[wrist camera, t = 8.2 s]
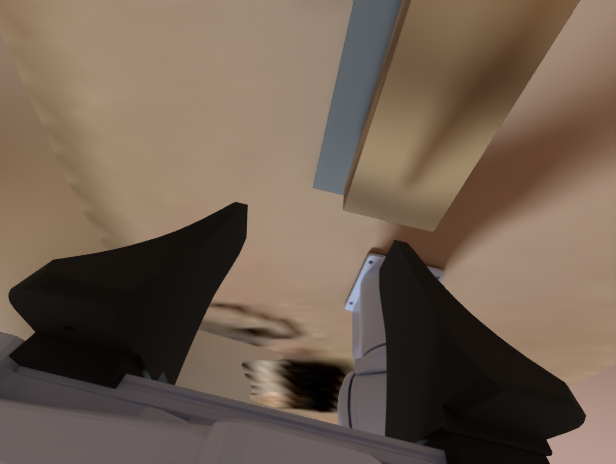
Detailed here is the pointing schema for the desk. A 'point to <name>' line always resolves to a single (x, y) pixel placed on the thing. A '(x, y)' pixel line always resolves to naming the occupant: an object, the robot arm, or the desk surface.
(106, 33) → the desk surface
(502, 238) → the desk surface
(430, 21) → the shelf board
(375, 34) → the peg stand
